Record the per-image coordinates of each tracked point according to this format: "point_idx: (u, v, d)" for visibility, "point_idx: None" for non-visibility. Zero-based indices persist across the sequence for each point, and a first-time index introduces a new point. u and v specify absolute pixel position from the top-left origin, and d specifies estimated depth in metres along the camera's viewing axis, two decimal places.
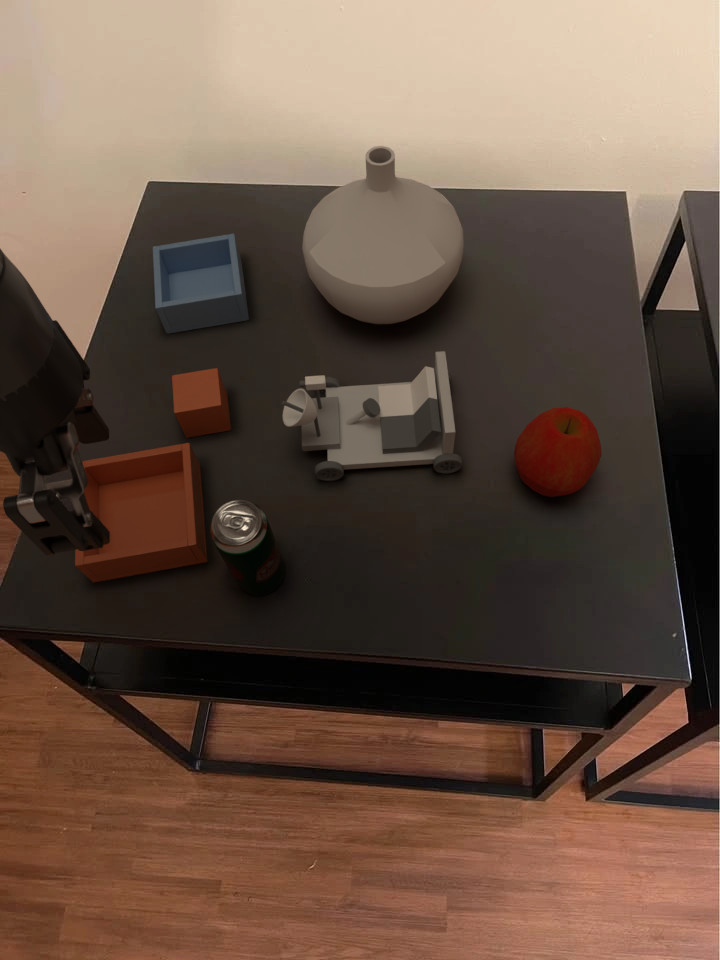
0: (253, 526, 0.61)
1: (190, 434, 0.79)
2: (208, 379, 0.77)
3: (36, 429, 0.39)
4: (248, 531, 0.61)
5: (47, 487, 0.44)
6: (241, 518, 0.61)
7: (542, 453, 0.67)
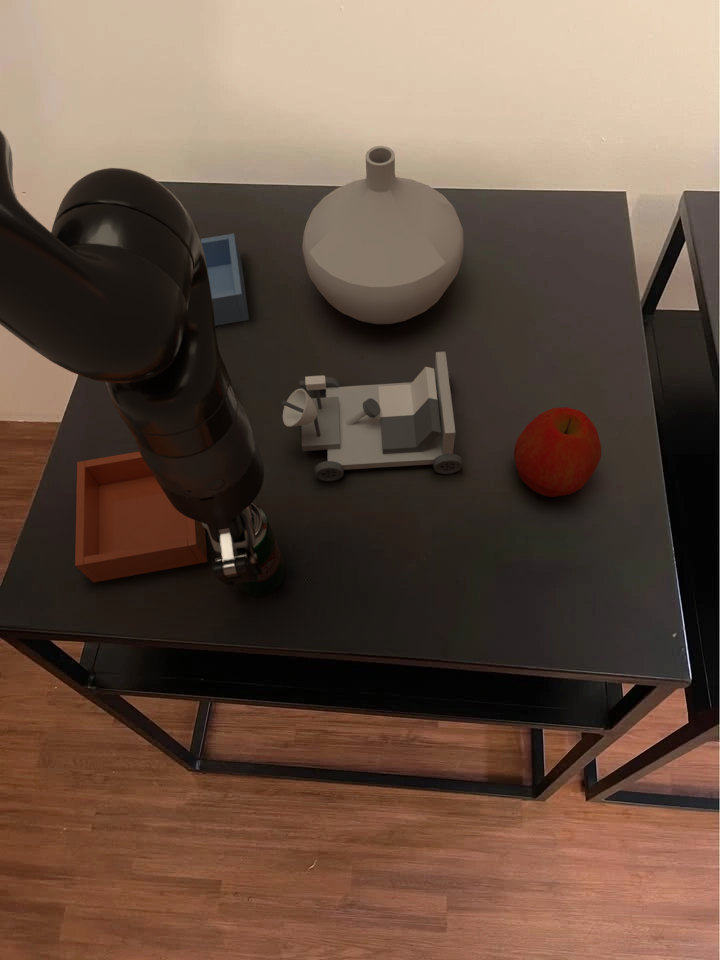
0: None
1: None
2: None
3: (237, 509, 0.52)
4: None
5: None
6: None
7: (542, 453, 0.67)
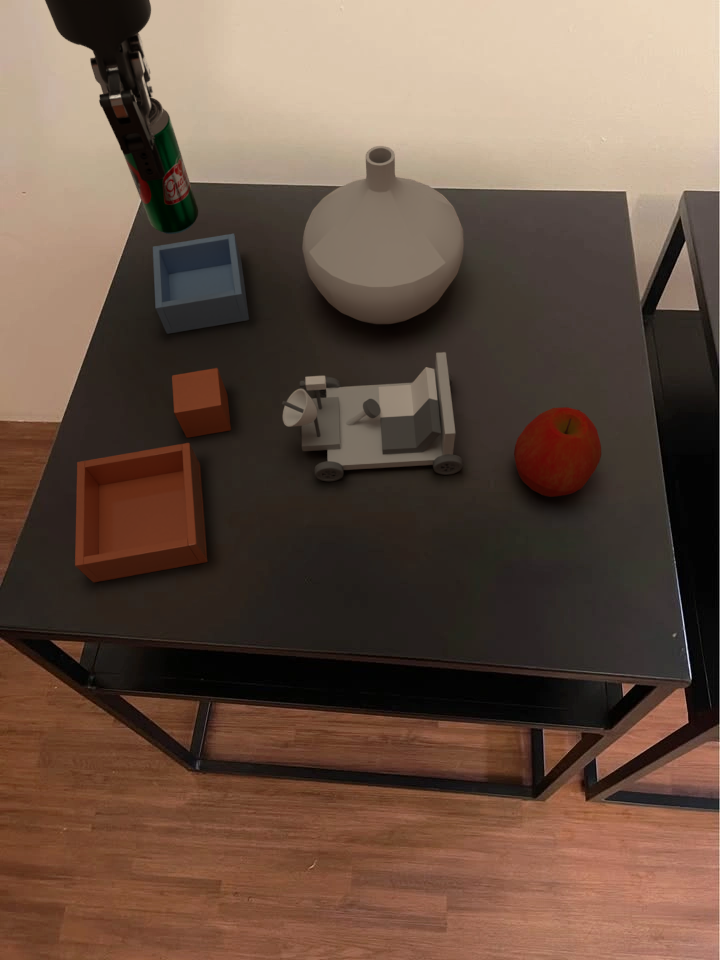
0: (154, 114, 0.63)
1: (190, 434, 0.79)
2: (208, 379, 0.77)
3: (120, 28, 0.54)
4: (149, 119, 0.63)
5: None
6: None
7: (542, 453, 0.67)
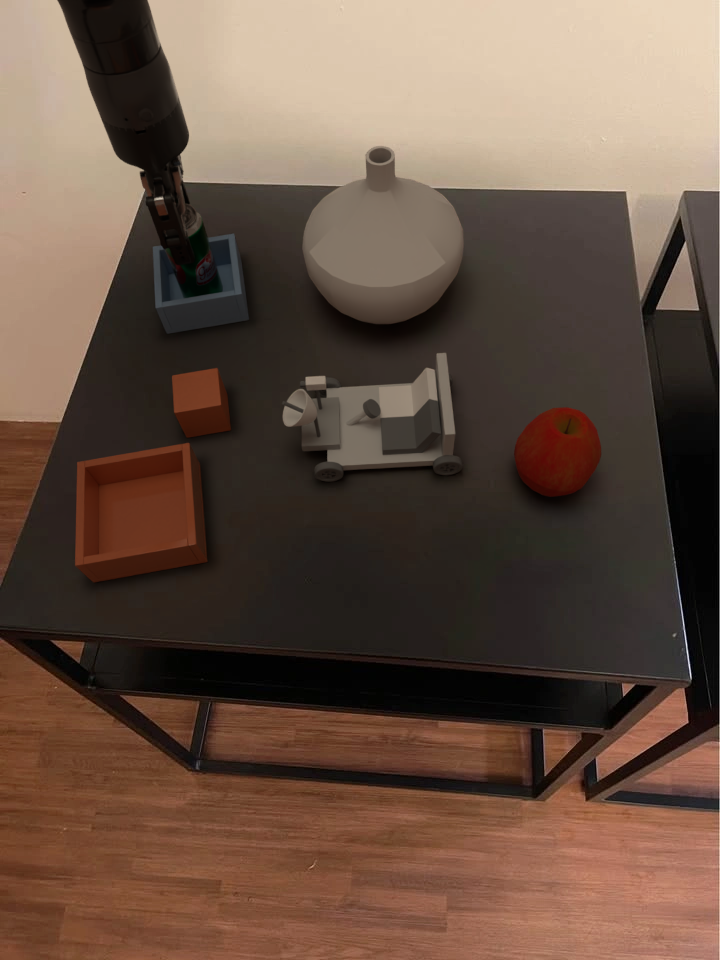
0: (190, 218, 0.78)
1: (190, 434, 0.79)
2: (208, 379, 0.77)
3: (166, 154, 0.68)
4: (186, 222, 0.78)
5: None
6: None
7: (542, 453, 0.67)
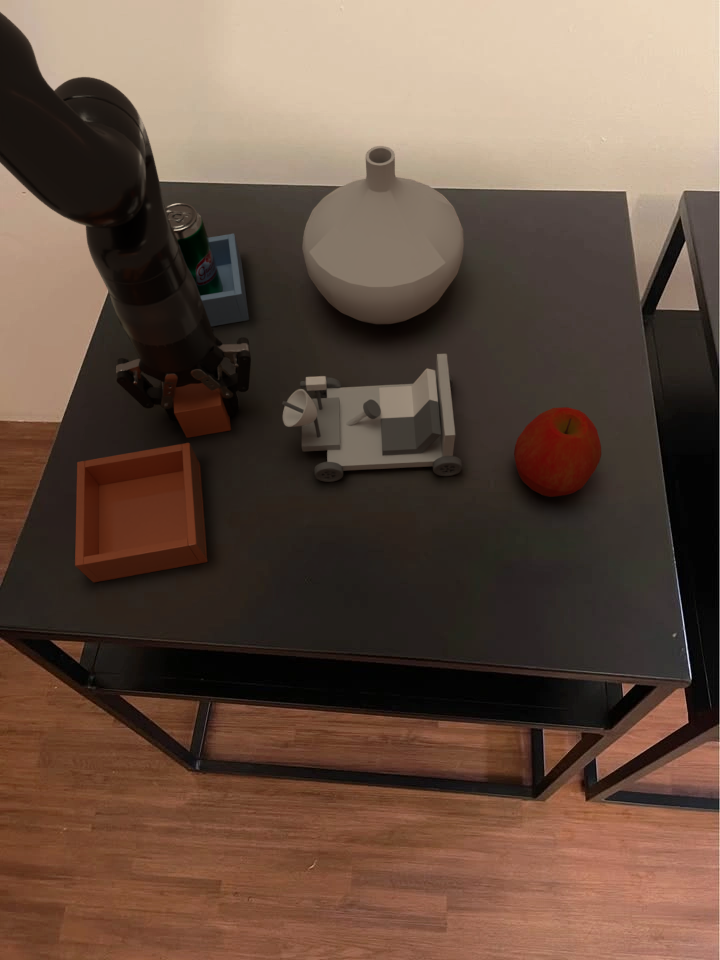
0: (190, 218, 0.78)
1: (190, 434, 0.79)
2: None
3: None
4: (186, 222, 0.78)
5: None
6: (181, 214, 0.79)
7: (542, 453, 0.67)
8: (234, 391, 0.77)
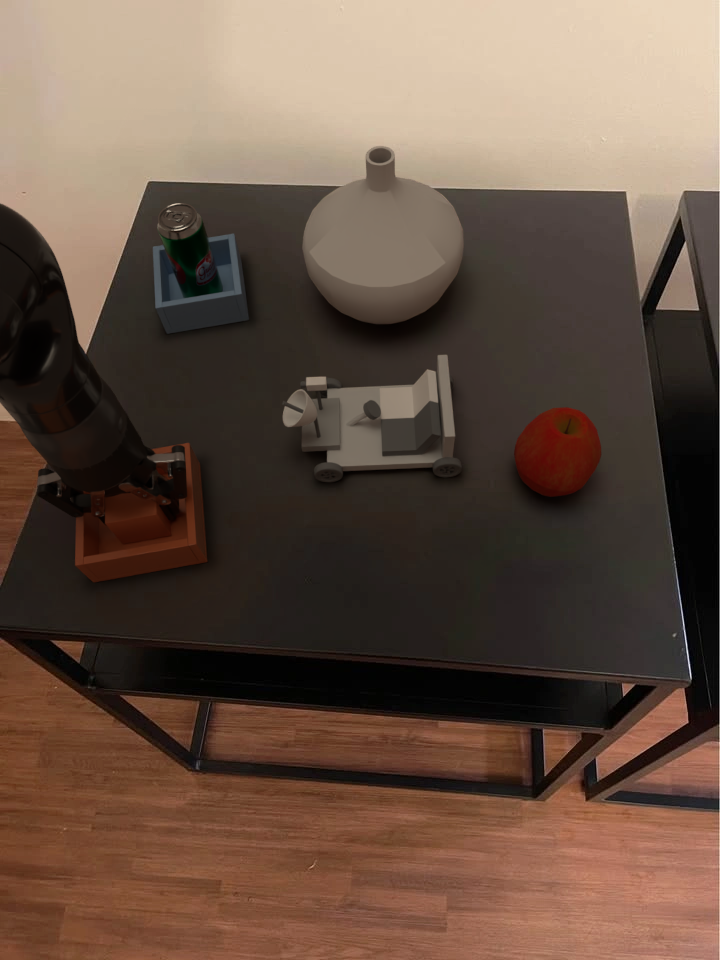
0: (190, 218, 0.78)
1: (127, 541, 0.73)
2: None
3: None
4: (186, 222, 0.78)
5: None
6: (181, 214, 0.79)
7: (542, 453, 0.67)
8: (172, 497, 0.70)
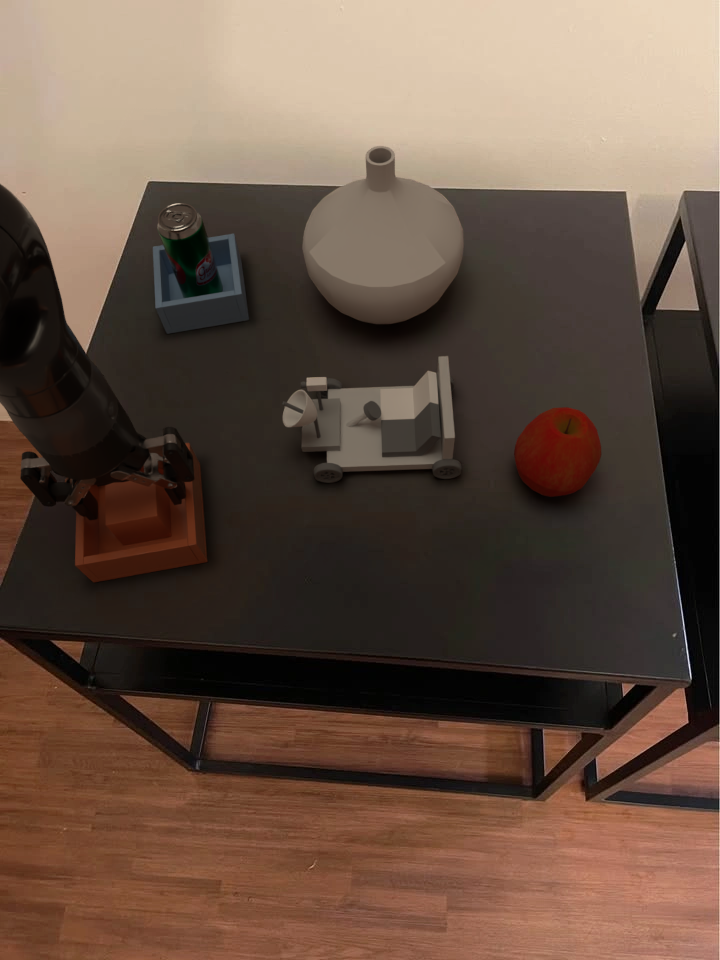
0: (190, 218, 0.78)
1: (127, 542, 0.73)
2: None
3: None
4: (186, 222, 0.78)
5: None
6: (181, 214, 0.79)
7: (542, 453, 0.67)
8: (178, 480, 0.68)
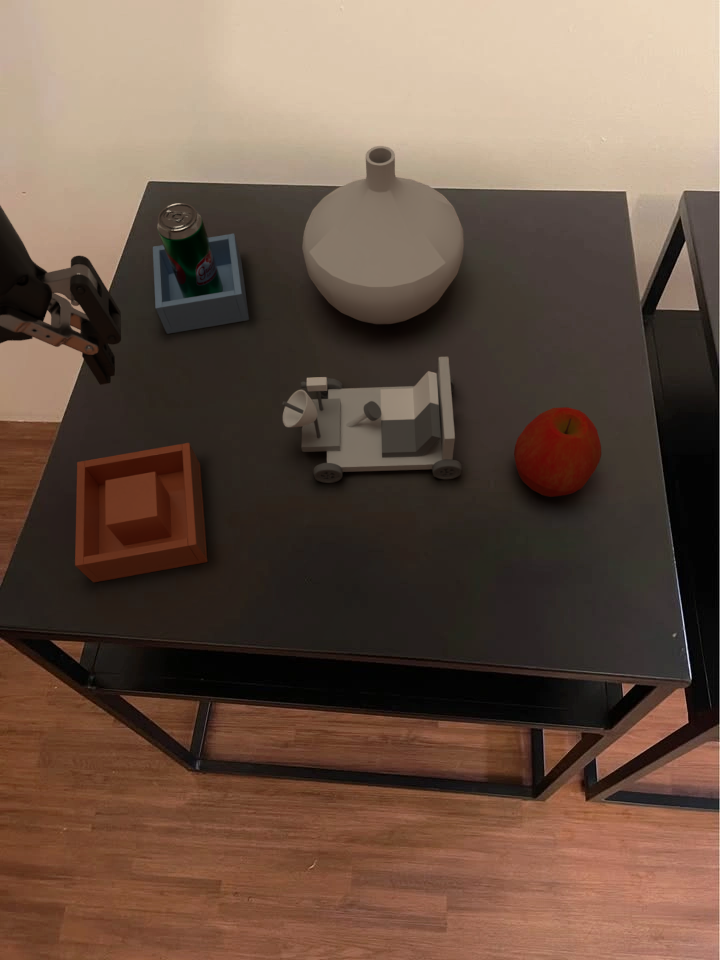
0: (190, 218, 0.78)
1: (127, 542, 0.73)
2: (144, 485, 0.71)
3: None
4: (186, 222, 0.78)
5: None
6: (181, 214, 0.79)
7: (542, 453, 0.67)
8: (101, 343, 0.50)
